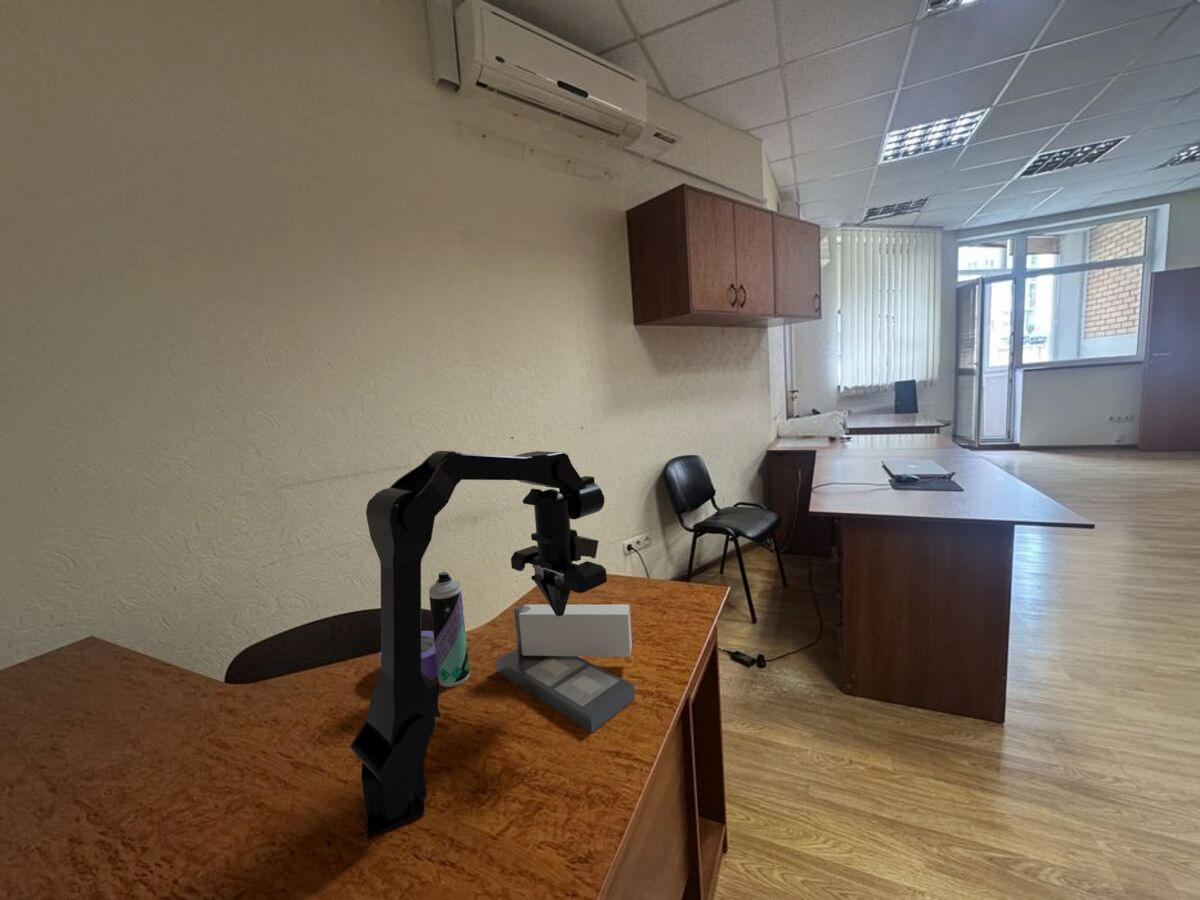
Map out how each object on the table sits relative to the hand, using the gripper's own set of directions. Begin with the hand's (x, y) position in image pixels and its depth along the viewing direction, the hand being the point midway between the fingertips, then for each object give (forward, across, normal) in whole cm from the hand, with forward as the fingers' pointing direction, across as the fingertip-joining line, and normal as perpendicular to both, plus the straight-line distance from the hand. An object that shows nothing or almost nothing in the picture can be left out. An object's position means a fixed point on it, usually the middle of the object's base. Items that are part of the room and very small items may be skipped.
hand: (559, 615), depth 80 cm
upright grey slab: (+10, +4, -5) cm, 12 cm away
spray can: (+13, +18, +11) cm, 25 cm away
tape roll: (+13, +27, +15) cm, 33 cm away
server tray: (+13, +1, 0) cm, 13 cm away
